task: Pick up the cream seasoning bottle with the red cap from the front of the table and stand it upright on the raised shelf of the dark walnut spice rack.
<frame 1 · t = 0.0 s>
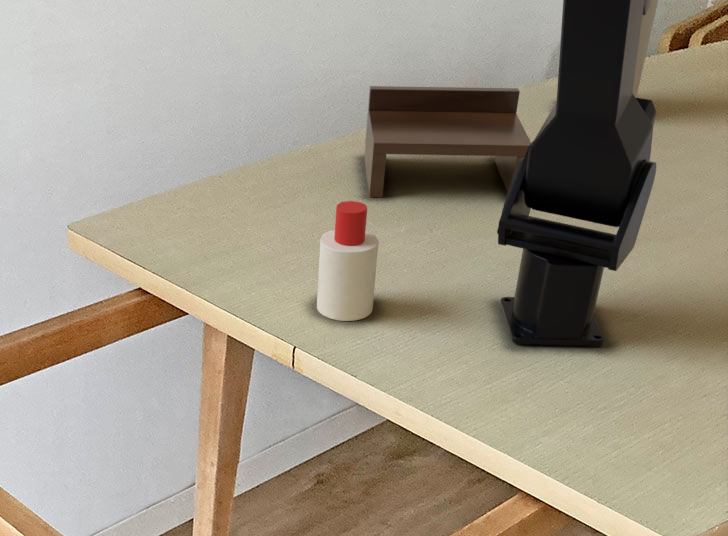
hand: (700, 18, 91), 15 cm above the table, tool tilted 35°, fingers open, 9 cm apart
travel mug: (594, 112, 119), on the table
seasoning bottle: (344, 308, 82), on the table
spice rack: (440, 178, 103), on the table
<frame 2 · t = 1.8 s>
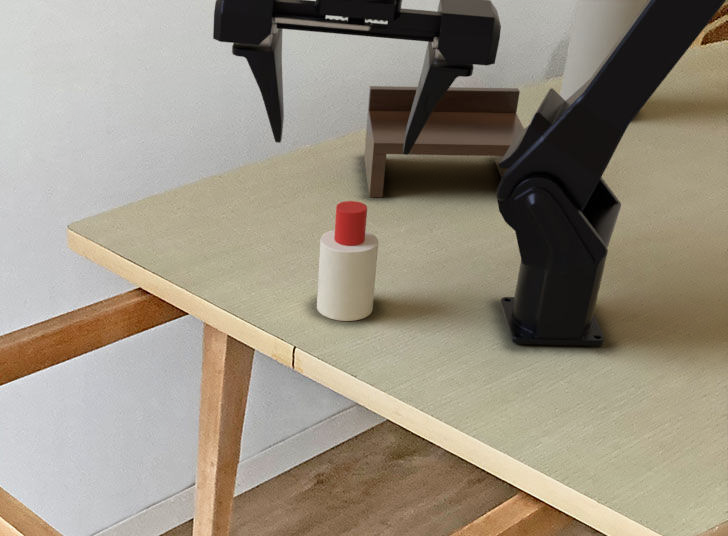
hand: (341, 146, 78), 11 cm above the table, tool pointing down, fingers open, 9 cm apart
nothing on the table moved.
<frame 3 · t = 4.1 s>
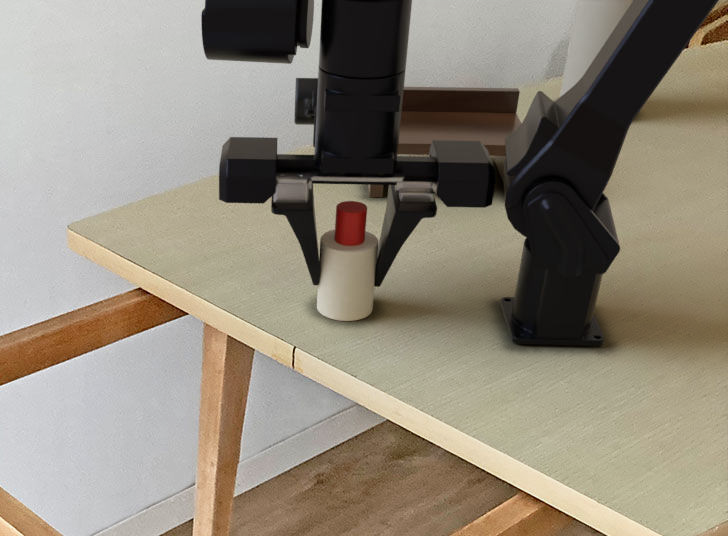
hand: (346, 283, 80), 2 cm above the table, tool pointing down, fingers closed on seasoning bottle, 4 cm apart
seasoning bottle: (344, 308, 82), on the table, touching gripper
everything else where it was.
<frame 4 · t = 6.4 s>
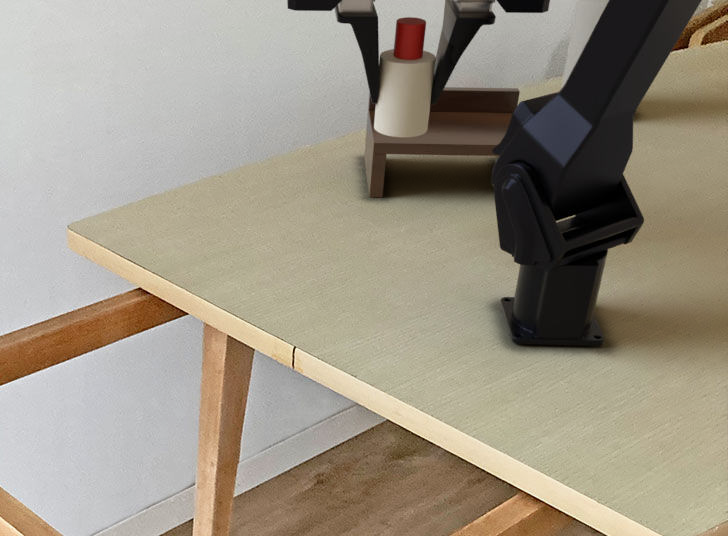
hand: (403, 102, 84), 12 cm above the table, tool pointing down, fingers closed on seasoning bottle, 4 cm apart
seasoning bottle: (400, 128, 85), point 10 cm above the table, touching gripper
everything else where it was.
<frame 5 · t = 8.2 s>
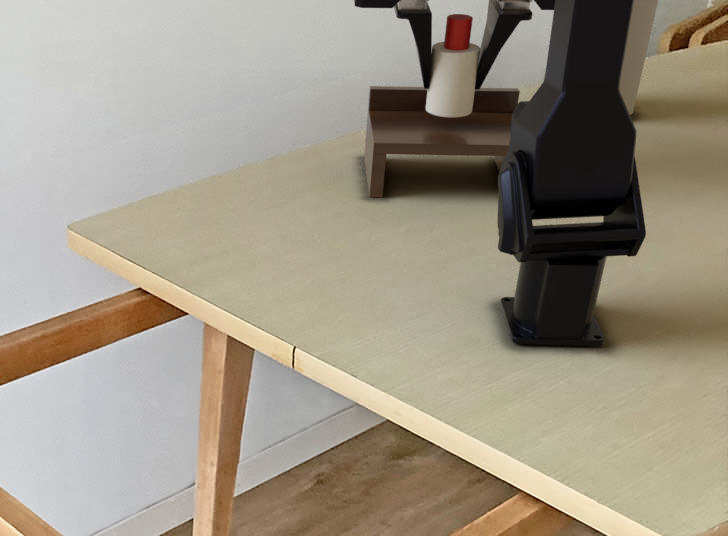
hand: (451, 88, 97), 8 cm above the table, tool pointing down, fingers closed on seasoning bottle, 4 cm apart
seasoning bottle: (448, 110, 99), point 6 cm above the table, touching gripper
everything else where it was.
when the fingers open (7 cm above the table, at t = 9.0 s): seasoning bottle stays where it is, resting on spice rack.
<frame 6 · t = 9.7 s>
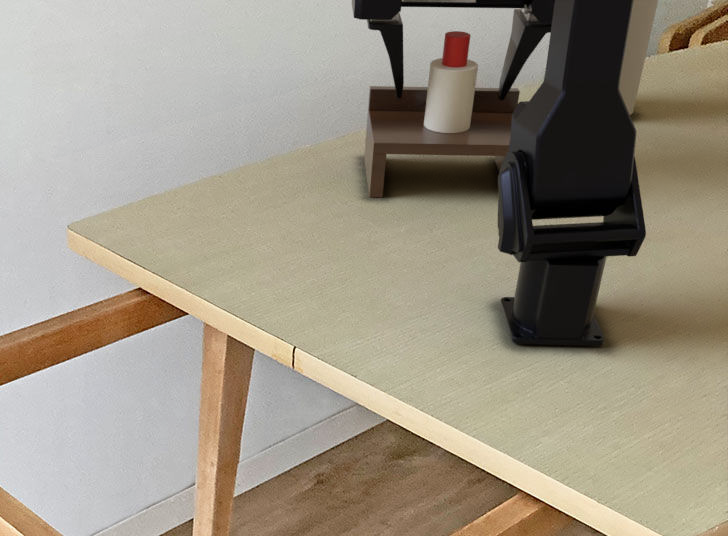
hand: (449, 98, 98), 7 cm above the table, tool pointing down, fingers open, 9 cm apart
seasoning bottle: (446, 125, 100), point 5 cm above the table, touching spice rack
everything else where it was.
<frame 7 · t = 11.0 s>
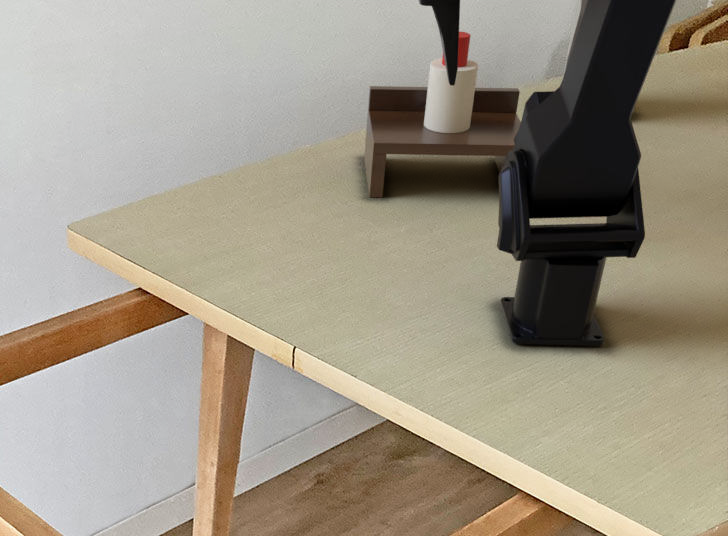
hand: (509, 84, 87), 12 cm above the table, tool pointing down, fingers open, 9 cm apart
nothing on the table moved.
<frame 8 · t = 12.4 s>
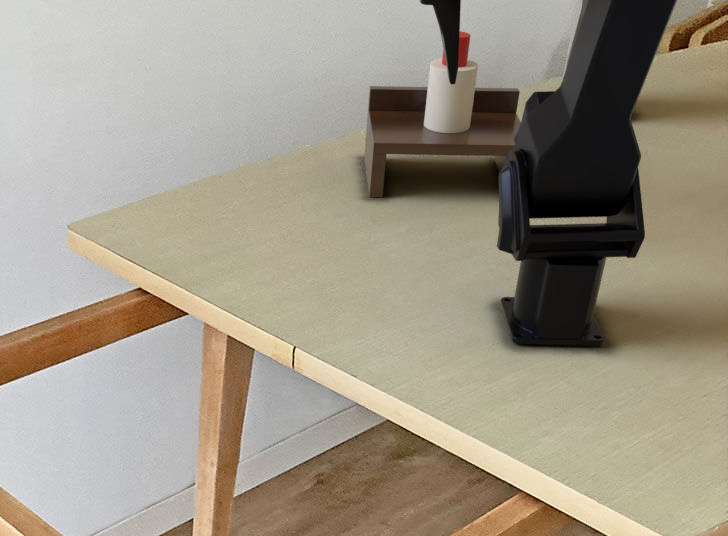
hand: (509, 83, 86), 12 cm above the table, tool pointing down, fingers open, 9 cm apart
nothing on the table moved.
at the end: seasoning bottle inside the target area on the spice rack (0.1 cm from its centre), point 5.0 cm above the spice rack's base; seasoning bottle tilted 0° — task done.
